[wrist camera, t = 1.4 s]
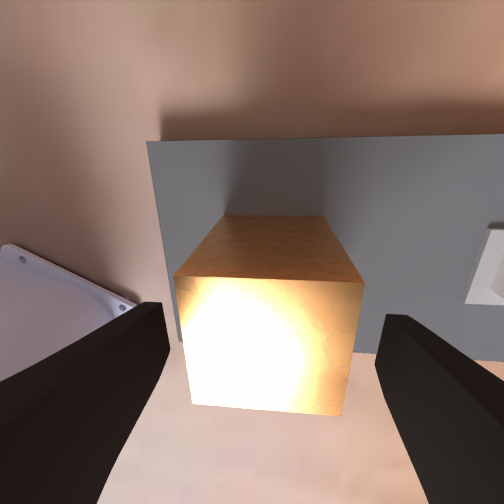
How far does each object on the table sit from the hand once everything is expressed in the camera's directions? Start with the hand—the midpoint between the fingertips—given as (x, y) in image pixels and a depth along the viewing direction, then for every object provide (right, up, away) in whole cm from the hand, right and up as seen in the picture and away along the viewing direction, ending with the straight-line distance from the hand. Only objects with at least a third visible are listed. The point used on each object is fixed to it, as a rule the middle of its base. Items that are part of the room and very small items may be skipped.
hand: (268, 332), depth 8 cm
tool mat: (+7, +3, +6) cm, 9 cm away
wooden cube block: (+1, +2, +5) cm, 6 cm away
